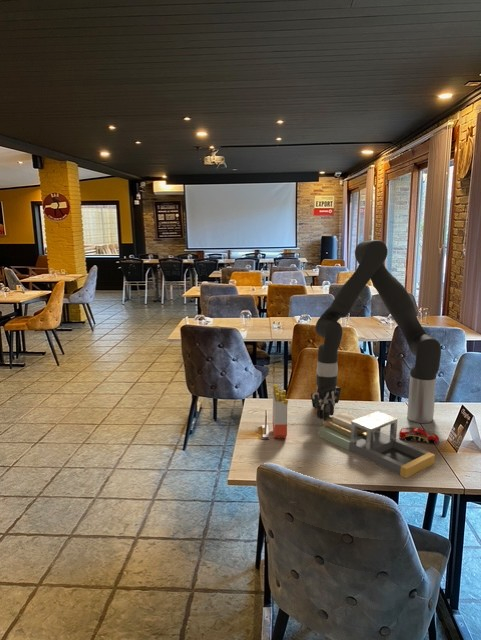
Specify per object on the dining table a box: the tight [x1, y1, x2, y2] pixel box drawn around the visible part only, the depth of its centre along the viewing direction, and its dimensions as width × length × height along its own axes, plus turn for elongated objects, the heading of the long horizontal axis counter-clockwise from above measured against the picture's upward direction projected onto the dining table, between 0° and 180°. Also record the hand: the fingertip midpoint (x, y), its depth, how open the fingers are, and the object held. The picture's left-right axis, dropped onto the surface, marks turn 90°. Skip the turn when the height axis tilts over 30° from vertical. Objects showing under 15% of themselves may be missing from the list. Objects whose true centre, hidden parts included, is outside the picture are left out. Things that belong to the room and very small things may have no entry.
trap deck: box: [318, 425, 436, 479], centre depth 162 cm, size 15×36×3 cm, turn 37°
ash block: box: [332, 412, 360, 431], centre depth 169 cm, size 6×10×4 cm, turn 37°
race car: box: [398, 427, 440, 445], centre depth 169 cm, size 13×5×4 cm, turn 71°
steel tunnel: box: [350, 410, 399, 451], centre depth 161 cm, size 14×8×8 cm, turn 127°
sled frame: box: [322, 403, 374, 438], centre depth 170 cm, size 10×22×6 cm, turn 37°
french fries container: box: [272, 383, 289, 439], centre depth 171 cm, size 5×11×18 cm, turn 1°
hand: (325, 416), depth 178 cm, fingers open, 5 cm apart
